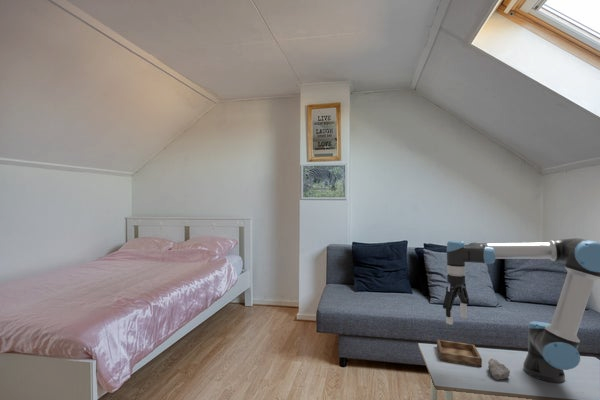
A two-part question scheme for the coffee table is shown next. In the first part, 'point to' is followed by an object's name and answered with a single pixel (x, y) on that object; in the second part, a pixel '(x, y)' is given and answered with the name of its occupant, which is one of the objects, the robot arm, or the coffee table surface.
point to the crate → (459, 353)
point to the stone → (498, 370)
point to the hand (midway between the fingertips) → (456, 320)
